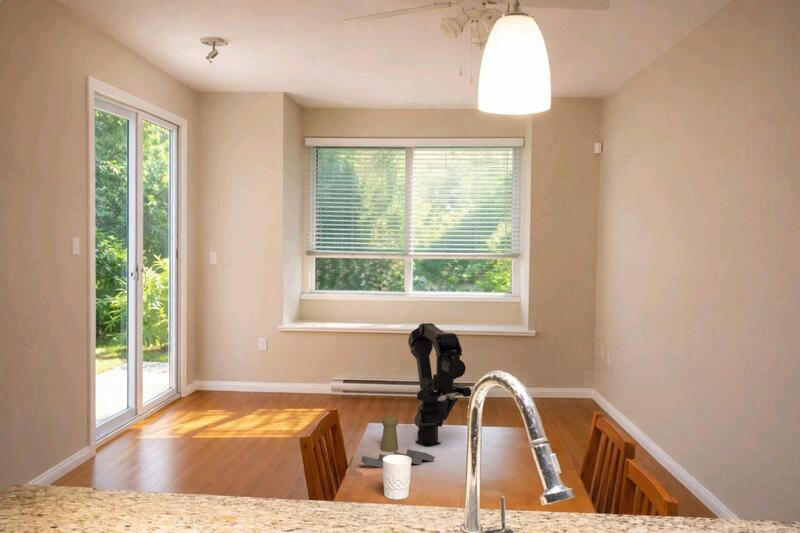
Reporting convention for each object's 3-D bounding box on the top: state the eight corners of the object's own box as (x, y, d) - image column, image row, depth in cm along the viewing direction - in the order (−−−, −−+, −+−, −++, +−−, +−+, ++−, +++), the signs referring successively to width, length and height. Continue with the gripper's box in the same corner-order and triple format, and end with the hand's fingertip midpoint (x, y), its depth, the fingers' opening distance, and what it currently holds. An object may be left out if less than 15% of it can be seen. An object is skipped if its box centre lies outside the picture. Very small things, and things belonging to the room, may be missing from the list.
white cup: (400, 502, 180) (401, 465, 179) (376, 496, 184) (377, 460, 183) (416, 494, 186) (416, 458, 186) (392, 488, 190) (392, 452, 190)
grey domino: (413, 456, 215) (394, 451, 211) (422, 459, 211) (402, 455, 207) (412, 461, 215) (392, 456, 210) (420, 464, 211) (400, 460, 207)
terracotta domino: (377, 464, 207) (355, 469, 203) (385, 469, 204) (363, 473, 199) (377, 470, 208) (355, 474, 203) (385, 474, 204) (363, 478, 199)
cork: (399, 447, 229) (400, 414, 229) (397, 452, 223) (398, 419, 223) (381, 446, 230) (382, 414, 230) (379, 451, 224) (380, 418, 224)
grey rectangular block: (400, 458, 212) (379, 453, 208) (408, 462, 209) (386, 457, 205) (399, 463, 212) (378, 459, 208) (406, 467, 208) (385, 462, 204)
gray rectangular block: (426, 453, 218) (407, 449, 214) (434, 456, 215) (416, 452, 210) (424, 458, 218) (406, 454, 213) (433, 461, 214) (414, 457, 210)
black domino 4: (386, 460, 210) (362, 455, 207) (391, 463, 206) (367, 459, 203) (384, 465, 209) (361, 461, 207) (389, 469, 205) (365, 464, 203)
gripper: (450, 365, 231) (449, 411, 232) (407, 370, 220) (406, 418, 220) (472, 370, 222) (471, 418, 223) (428, 376, 211) (427, 426, 211)
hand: (444, 419), depth 220 cm, fingers closed
